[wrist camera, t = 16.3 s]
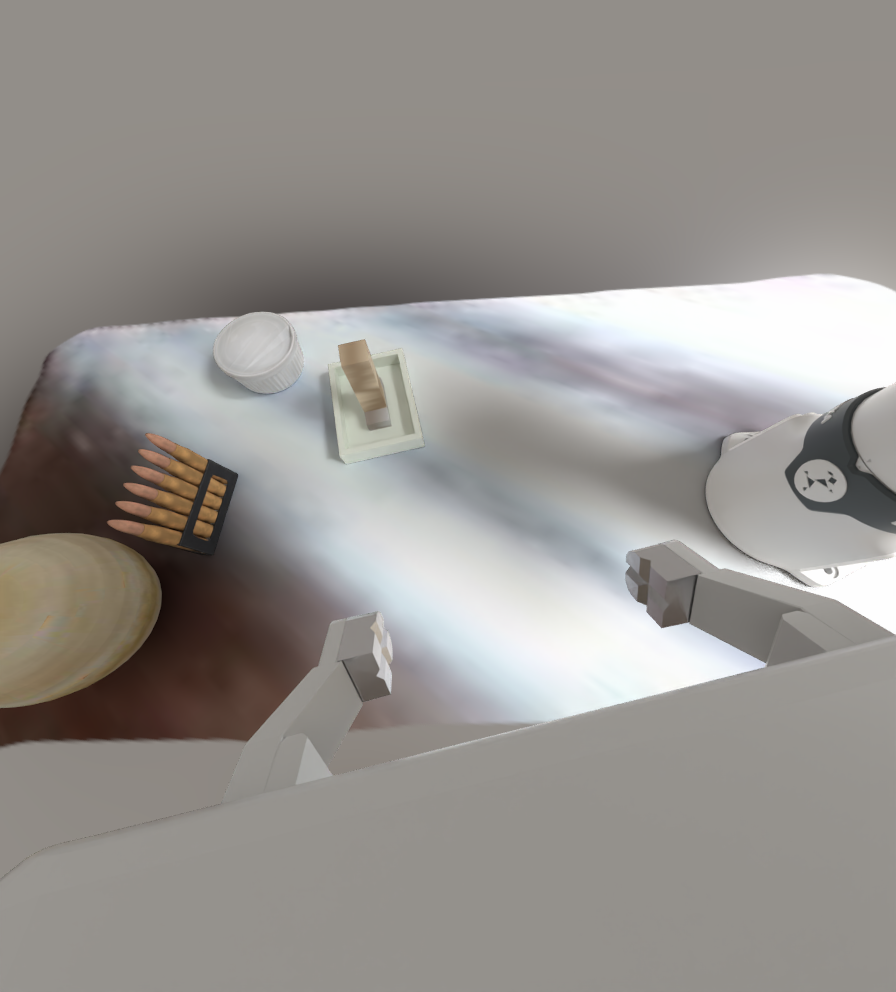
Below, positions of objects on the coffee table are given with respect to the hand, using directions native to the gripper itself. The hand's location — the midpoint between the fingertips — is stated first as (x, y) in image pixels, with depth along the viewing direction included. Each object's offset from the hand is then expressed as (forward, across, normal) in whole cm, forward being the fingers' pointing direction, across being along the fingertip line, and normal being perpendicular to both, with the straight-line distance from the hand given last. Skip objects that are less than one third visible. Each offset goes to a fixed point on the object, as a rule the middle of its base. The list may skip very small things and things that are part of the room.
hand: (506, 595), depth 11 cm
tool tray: (+39, +7, -1) cm, 40 cm away
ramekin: (+47, +21, -8) cm, 52 cm away
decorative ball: (+25, +39, +14) cm, 48 cm away
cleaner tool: (+39, +7, -1) cm, 39 cm away
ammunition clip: (+32, +29, +6) cm, 44 cm away
